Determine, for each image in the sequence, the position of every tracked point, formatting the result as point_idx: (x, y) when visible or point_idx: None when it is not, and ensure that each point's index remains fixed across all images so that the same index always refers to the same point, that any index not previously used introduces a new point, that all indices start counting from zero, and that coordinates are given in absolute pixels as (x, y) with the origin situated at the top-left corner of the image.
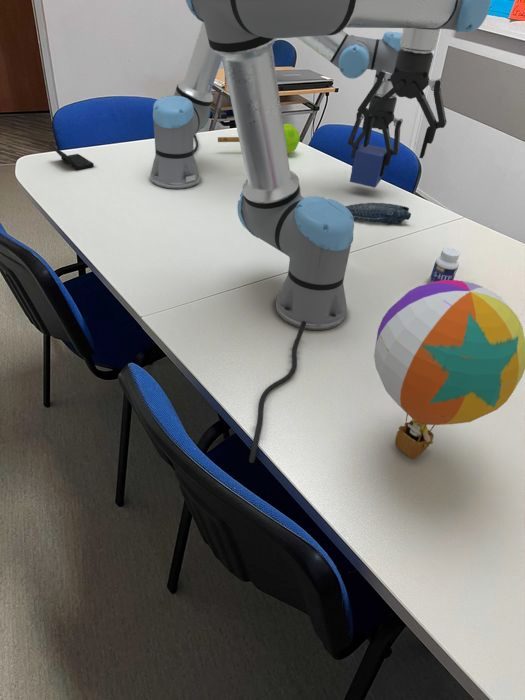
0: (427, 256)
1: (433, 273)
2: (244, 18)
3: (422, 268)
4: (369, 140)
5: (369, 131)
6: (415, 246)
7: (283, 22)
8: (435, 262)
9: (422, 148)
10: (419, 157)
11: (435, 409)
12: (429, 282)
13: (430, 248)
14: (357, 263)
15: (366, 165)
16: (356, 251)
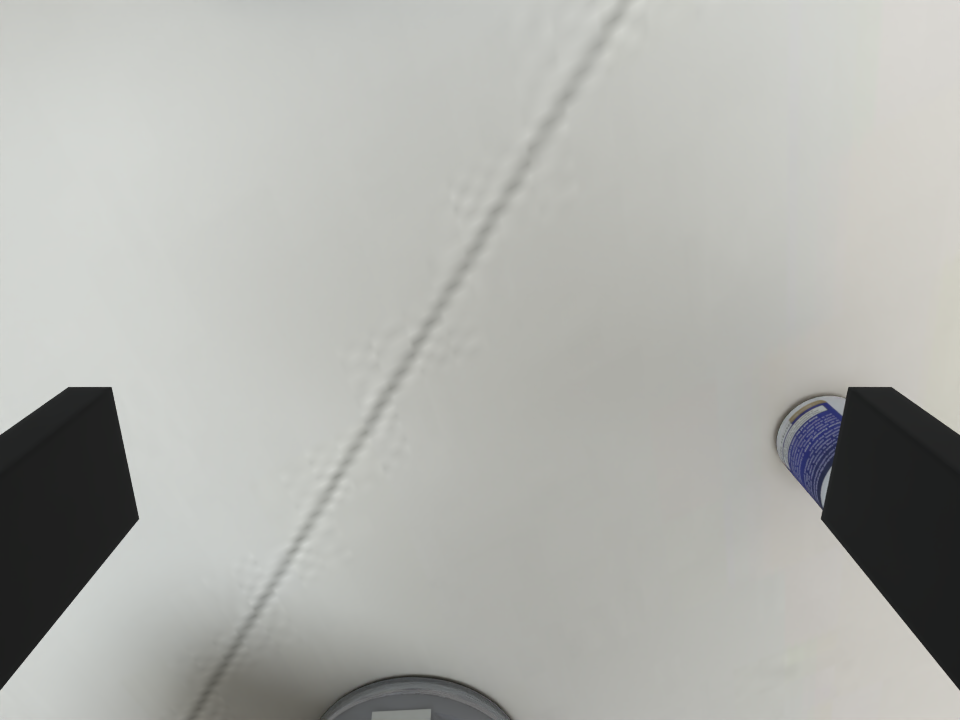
0: (766, 196)
1: (802, 484)
2: None
3: (744, 331)
4: (83, 411)
5: (15, 639)
6: (699, 110)
7: None
8: (819, 497)
9: (896, 596)
10: (825, 523)
11: None
12: (778, 453)
13: (782, 88)
14: (466, 432)
15: None
16: (430, 332)
